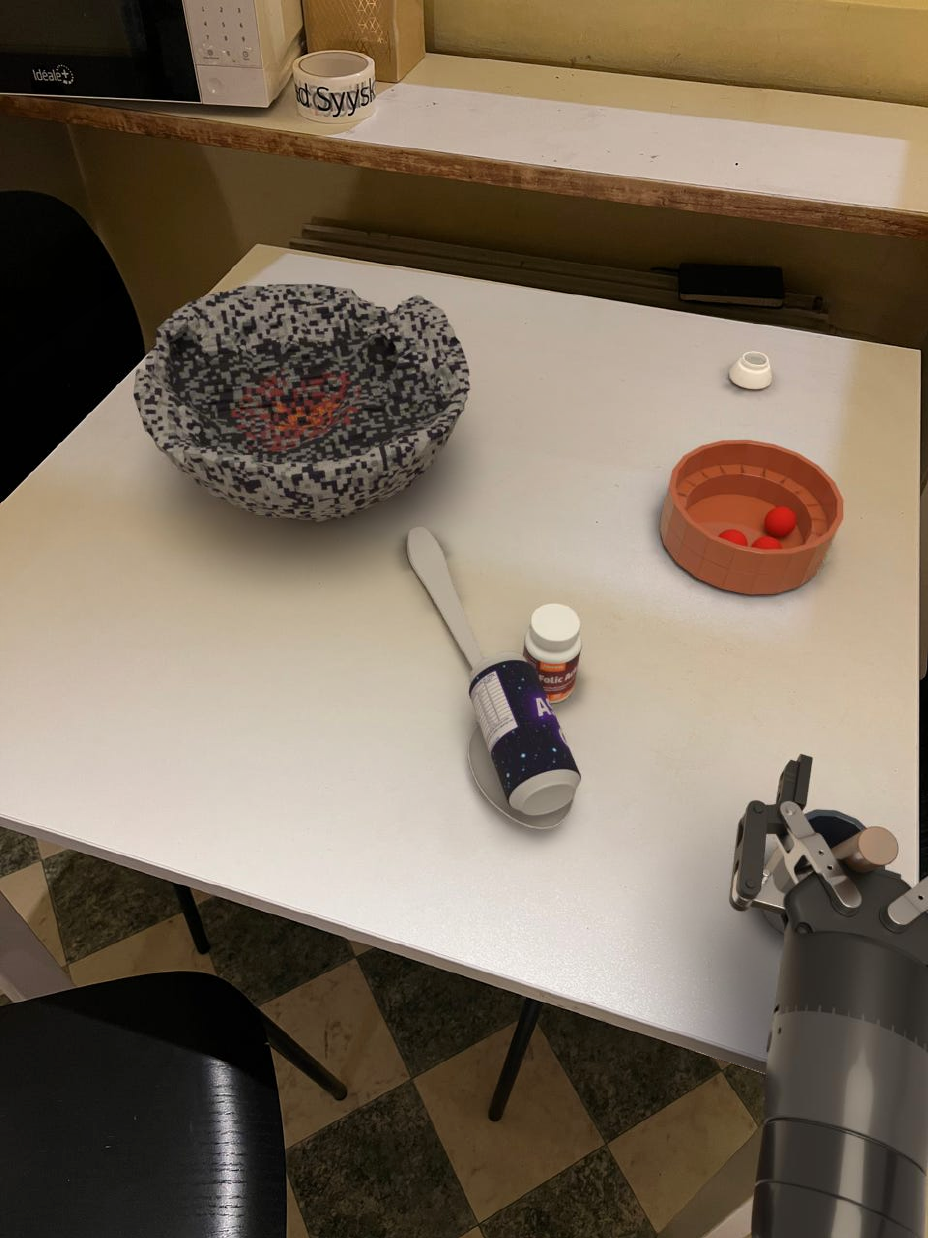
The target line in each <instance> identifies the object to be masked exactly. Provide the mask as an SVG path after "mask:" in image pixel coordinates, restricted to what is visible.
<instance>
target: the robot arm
mask: <svg viewBox="0 0 928 1238" xmlns="http://www.w3.org/2000/svg"><path fill="white" fill-rule="evenodd" d="M813 759H814V758H813V757H812V756H811V755H810V756H809V755H807V754H803V753H799V756H797V759H796V760H794V759H789V760H788V762H787V763H786V764H785V766H784V768H783V770H782V772H781V773H780V776H779V780H778V786H777V792H776V798H775V803H773V804H766V803H765V802H764V801H761V800H758V799H754V800H751V801H750V802H749V803H748V804H747V806H746V809H745V812H744V814H743V815H742V817H741V818H740V819H739V820H738V821H739V822H738V823H737V828H736V837H735V844H734V845H735V846H734V854H733V862H732V869H731V879H730V888H729V895H728V897H729V898H728V901H729V905H730V907H731V908H732V909H734V910H735V911H737V912H740V913H744V912H747V911H748V910H749V909H750V908H754V909H757V910H761V911H762V910H764V911H768V912H771V913H775V914H778V915H779V916H780V918H781V921H782V924H783V927H784V934H783V935H784V937H783V944H782V951H781V952H782V953H781V957H780V965H779V973H778V979H777V987H776V994H775V1001H774V1007H773V1015H772V1022H771V1029H770V1031H768V1034H767V1042H766V1048H765V1049H766V1053H765V1054H766V1056H767V1057H766V1065H765V1074H764V1113H763V1114H764V1115H763V1116H764V1117H763V1127H762V1131H761V1139H760V1147H759V1153H758V1161H757V1168H756V1176H755V1183H754V1184H755V1186H754V1189H753V1198H752V1206H751V1207H752V1208H751V1221H750V1235H751V1236H750V1237H751V1238H926V1214H927V1213H926V1211H927V1210H926V1209H927V1208H926V1206H927V1182H928V1181H927V1180H928V1179H927V1176H928V875H927V876H926V877H925V878H923V879H922V880H920V881H919V882H918V883H917V884H915V885H914V886H913V887H912V886H911V885H910V884H909V883H908V882H906V881H905V880H904V879H903V878H902V874H901V873H898V872H896V871H892V870H889V869H885V870H884V869H875V870H873V871H870V872H867V873H860V872H856V871H854V870H852V869H851V868H849V867H848V866H847V865H846V864H845V863H844V862H843V860H841V859H836V858H835V856H834V855H833V853H832V851H831V850H830V848H829V847H828V845H827V843H826V842H825V840H824V838H823V837H822V835H820V834H819V833H815V832H814V830H813V829H812V827H811V825H810V824H809V822H808V820H807V819H806V817H805V815H804V814H805V813H804V812H803V811H804V810H805V808H806V806H807V804H808V795H809V789H810V782H811V774H812V768H813V761H814V760H813ZM767 835H772V838H773V839H774V841H775V843H776V845H777V847H778V846H779V848H780V849H781V851H782V853H783V855H784V858H785V865H786V868H787V870H788V872H789V873H790V875H791V877H792V879H793V880H794V882H795V884H796V885H794V886H793V887H792V888H790V889H789V890H788V891H787V892H786V894H785V893H783V892H781V891H779V890H778V889H777V887H776V886H775V883H774V877H773V875H772V873H771V872H770V870H769V869H765V867H764V865H765V856H766V855H765V854H766V845H767ZM812 866H813V867H812ZM813 868H814V869H815V870H813Z"/></svg>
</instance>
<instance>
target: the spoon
mask: <svg viewBox="0 0 928 1238" xmlns="http://www.w3.org/2000/svg"><path fill="white" fill-rule="evenodd" d="M406 554H407V558H408V562H409V564H410V566H411V567H412V569H413V571H414V572H415V574H416V575H417V577H418V578H419V579H420V581H421V583H422V584H423V586H424V587H425V589H426V590H427V592H428V593H429V595H430V597H431V599H432V600H433V602H434V604H435V605H436V607H437V609H438V611H439V613H440V615H441V616H442V618H443V620H444V621H445V623H446V625H447V627H448V629H449V631H450V633H451V634H452V636H453V638H454V640H455V641H456V643H457V645H458V646H459V648H460V650H461V652H462V653H463V655H464V657H465V658H466V660H467V662H468V664H469V665H470V667H471V669H473V668H474V667H475V666H476V665H477V664H478V663H479V662H480V661H482V660H483V659H484V657H483V655H482V653H481V649H480V647H479V645H478V643H477V640H476V637H475V636H474V635H475V634H474V632H473V630H472V628H471V625H470V623H469V620H468V618H467V615H466V613H465V611H464V608H463V605H462V603H461V600H460V598H459V596H458V593H457V591H456V588H455V585H454V583H453V580H452V577H451V574H450V571H449V565H448V563H447V559H446V556H445V554H444V551H443V549H442V547H441V545H440V544H439V542H438V541H437V539H436V538H435V536H434V535H433V534H432V532H431V531H430V530H429V529H428V528H426V527H424V526H414V527H412V528H411V529H410V530H409V532H408V534H407V537H406ZM467 758H468V763H469V768H470V770H471V773H472V776H473V779H474V781H475V783H476V785H477V787H478V789H479V790H480V792H481V793H483V795H484V797H486V799H487V800H488V801H489V802H490V803H491V804H492V805H493V806H494V807H495V808H496V809H498V810H499V812H501V813H502V814H504V815H505V816H506V817H508V818H509V819H511V820H513V821H514V822H516V823H518V824H520V825H522V826H525V827H527V828H529V829H530V828H531V829H534V830H548V829H552V828H555V827H557V826H559V825H560V824H562V823H563V822H564V821H565V819H567V818H568V816H569V814H570V812H571V810H572V808H573V805H574V803H575V797H576V795H575V796H574V797H573V799H572V800H571V801H570V802H569V803H567V804H566V805H565V806H563V807H561V808H560V809H558V810H555V811H553V812H550V813H547V814H543V815H527V814H525V813H523V812H522V811H520V810H517V809H514V808H512V807H511V806H509V804H508V802H507V800H506V797H505V794H504V791H503V788H502V786H501V783H500V780H499V777H498V774H497V772H496V769H495V766H494V763H493V760H492V758H491V755H490V752H489V749H488V746H487V744H486V741H485V738H484V735H483V732H482V730H481V727H480V724H479V721H478V723H477V724H476V726H475V727H474V729H473V730H472V732H471V734H470V737H469V739H468V743H467Z"/></svg>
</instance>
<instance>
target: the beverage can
mask: <svg viewBox="0 0 928 1238" xmlns="http://www.w3.org/2000/svg"><path fill="white" fill-rule="evenodd" d="M471 669H472V668H471ZM468 682H469V687H468V696H469V699H470V701H471V705H472V707H473V711H474V714H475V716H476V718H477V721H478V722H479V724H480V727H481V730H482V732H483V735H484V738H485V741H486V744H487V746H488V749H489V752H490V755H491V758H492V760H493V763H494V766H495V769H496V772H497V774H498V777H499V780H500V783H501V786H502V788H503V791H504V794H505V797H506V800H507V802H508V804H509V806H511V807H512V808H514V809H517V810H520V811H522V812H523V813H525V814H527V815H543V814H547V813H550V812H553V811H555V810H558V809H560V808H561V807H563V806H565V805H566V804H567V803H569V802H570V801H571V800H572V799H573V797H574V796H575V797H576V793H577V789H578V787H579V786H580V783H581V781H582V775H581V772H580V770H579V767H578V765H577V762H576V761H575V758H574V756H573V753H572V751H571V749H570V747H569V744H568V742H567V739H566V737H565V735H564V732H563V730H562V728H561V726H560V723H559V720H558V717H557V716H556V714H555V711H554V709H553V707H552V703H550V702H549V700H548V697H547V695H546V693H545V690H544V688H543V686H542V683H541V681H540V679H539V676H538V674H537V672H536V669H535V668H534V667H533V666H532V665H531V664H530V663H528V662H527V660H526V659H525V657H524V656H523V654H521V653H518V652H514V651H503V652H498V653H494V654H492V655H489V656H487V657H485V658H483V660H482V661H480V662H479V663H478V664H477V665H476V666H475V667H474V668H473V669H472V670H471V671H470V673H469V677H468ZM575 797H574V798H575Z"/></svg>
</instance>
